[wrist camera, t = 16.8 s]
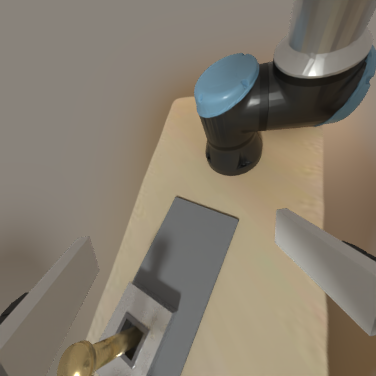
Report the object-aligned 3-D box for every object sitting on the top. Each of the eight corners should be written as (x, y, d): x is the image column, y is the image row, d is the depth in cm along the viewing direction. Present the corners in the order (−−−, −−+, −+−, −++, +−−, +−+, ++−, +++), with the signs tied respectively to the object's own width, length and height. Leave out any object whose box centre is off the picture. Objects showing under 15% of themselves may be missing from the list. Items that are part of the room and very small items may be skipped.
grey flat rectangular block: (136, 281, 42) (128, 281, 39) (177, 310, 37) (171, 313, 34) (99, 356, 38) (86, 362, 35) (139, 401, 32) (129, 414, 29)
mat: (176, 197, 49) (175, 196, 49) (238, 220, 41) (238, 219, 41) (97, 352, 38) (96, 353, 38) (162, 423, 31) (160, 425, 30)
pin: (135, 313, 39) (73, 334, 25) (153, 328, 37) (96, 359, 23) (123, 339, 38) (50, 376, 24) (141, 356, 35) (72, 408, 21)
